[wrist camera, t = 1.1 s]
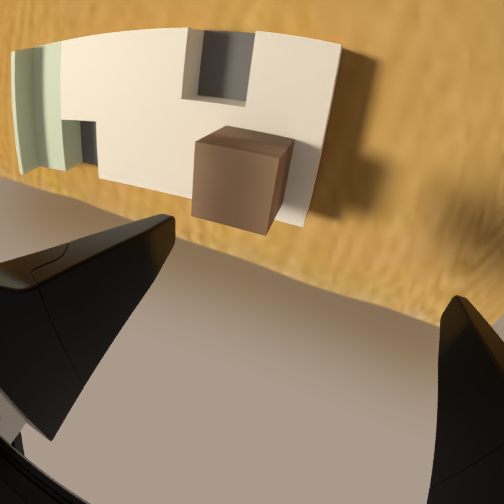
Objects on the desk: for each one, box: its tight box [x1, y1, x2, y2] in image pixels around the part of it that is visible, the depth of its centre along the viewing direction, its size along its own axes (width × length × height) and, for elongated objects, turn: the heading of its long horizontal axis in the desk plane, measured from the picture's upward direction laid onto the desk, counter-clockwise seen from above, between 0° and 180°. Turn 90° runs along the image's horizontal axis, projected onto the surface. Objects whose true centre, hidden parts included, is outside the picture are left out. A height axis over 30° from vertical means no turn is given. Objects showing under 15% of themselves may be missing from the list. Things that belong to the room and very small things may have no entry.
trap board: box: [11, 28, 343, 227], centre depth 18 cm, size 24×11×4 cm, turn 83°
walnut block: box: [191, 126, 295, 236], centre depth 16 cm, size 4×4×4 cm
